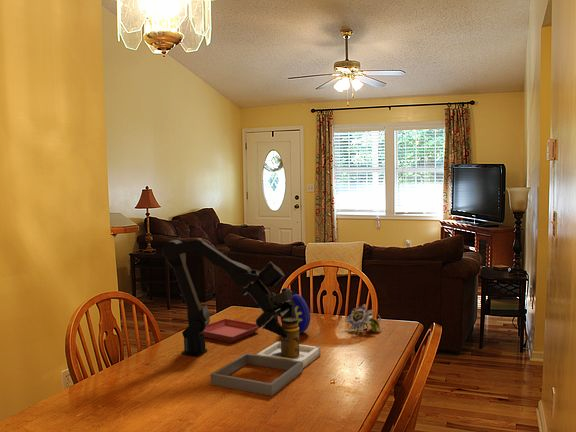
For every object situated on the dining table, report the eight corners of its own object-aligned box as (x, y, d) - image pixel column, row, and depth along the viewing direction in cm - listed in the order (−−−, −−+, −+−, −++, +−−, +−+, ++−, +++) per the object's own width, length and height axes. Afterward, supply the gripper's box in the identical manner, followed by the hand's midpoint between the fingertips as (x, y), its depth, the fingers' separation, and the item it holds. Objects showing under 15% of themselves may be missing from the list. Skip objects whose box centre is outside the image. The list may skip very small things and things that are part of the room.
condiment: (304, 356, 170) (304, 319, 169) (282, 361, 165) (282, 324, 164) (292, 350, 176) (291, 315, 175) (270, 355, 171) (270, 319, 170)
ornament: (278, 334, 197) (277, 295, 196) (287, 328, 206) (287, 290, 205) (305, 337, 193) (305, 297, 192) (314, 331, 201) (313, 292, 200)
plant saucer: (261, 332, 201) (261, 324, 201) (232, 345, 186) (232, 336, 186) (225, 326, 211) (225, 318, 211) (194, 337, 196) (194, 329, 196)
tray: (256, 362, 167) (256, 354, 167) (277, 348, 181) (277, 341, 181) (301, 369, 160) (301, 361, 160) (320, 354, 174) (320, 347, 174)
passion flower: (356, 345, 200) (338, 319, 202) (368, 333, 208) (351, 308, 210) (377, 334, 193) (358, 307, 195) (389, 322, 202) (370, 296, 204)
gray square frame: (210, 384, 150) (210, 374, 149) (246, 362, 167) (245, 353, 167) (272, 396, 141) (271, 385, 141) (302, 371, 159) (302, 361, 158)
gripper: (263, 286, 162) (296, 325, 158) (289, 276, 179) (319, 311, 175) (242, 308, 166) (273, 347, 162) (269, 296, 183) (298, 331, 179)
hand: (292, 333), depth 169 cm, fingers open, 9 cm apart
